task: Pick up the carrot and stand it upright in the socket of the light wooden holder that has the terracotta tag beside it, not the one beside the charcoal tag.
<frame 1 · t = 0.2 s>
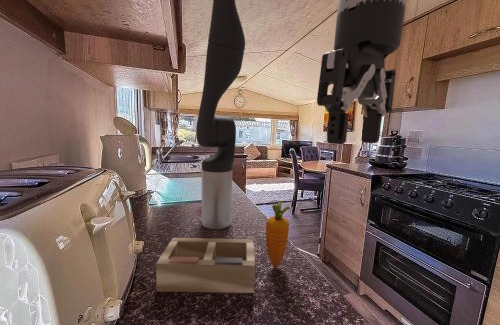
hand: (354, 143, 30), 28 cm above the countertop, tool pointing down, fingers open, 8 cm apart
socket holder: (209, 275, 46), on the countertop
carrot: (275, 268, 49), on the countertop
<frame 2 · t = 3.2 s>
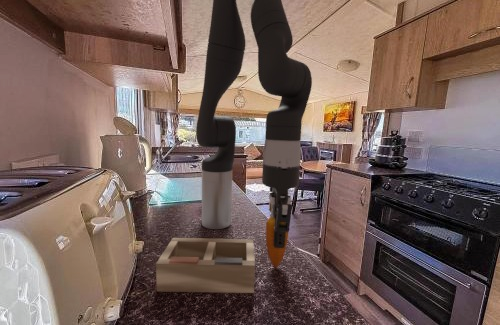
hand: (276, 239, 48), 6 cm above the countertop, tool pointing down, fingers closed on carrot, 5 cm apart
carrot: (275, 268, 49), on the countertop, touching gripper
everything else where it was.
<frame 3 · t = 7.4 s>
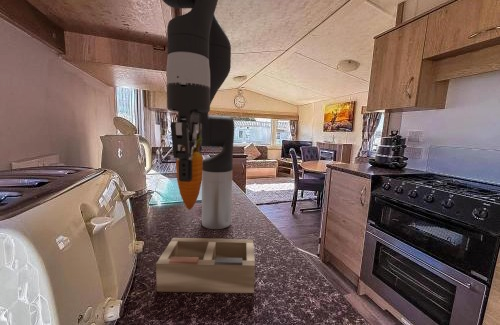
hand: (189, 177, 43), 20 cm above the countertop, tool pointing down, fingers closed on carrot, 5 cm apart
carrot: (189, 210, 44), point 14 cm above the countertop, touching gripper
everything else where it was.
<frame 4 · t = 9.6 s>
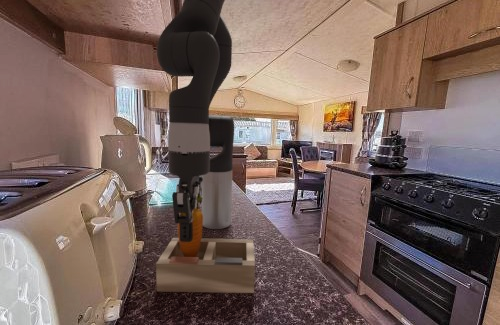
hand: (189, 233, 44), 9 cm above the countertop, tool pointing down, fingers closed on carrot, 5 cm apart
carrot: (190, 264, 45), point 2 cm above the countertop, touching gripper
everything else where it was.
when the fingers open (7 cm above the countertop, at t = 11.7 s): carrot stays where it is, resting in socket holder.
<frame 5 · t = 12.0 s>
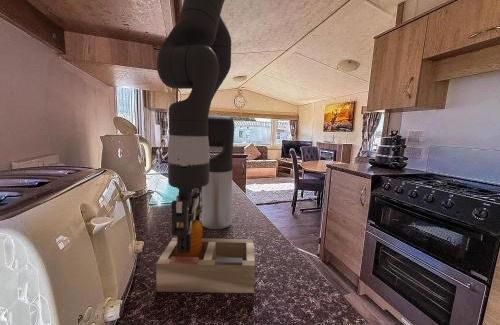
hand: (189, 241, 45), 7 cm above the countertop, tool pointing down, fingers open, 7 cm apart
carrot: (189, 275, 46), resting in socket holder
everything else where it was.
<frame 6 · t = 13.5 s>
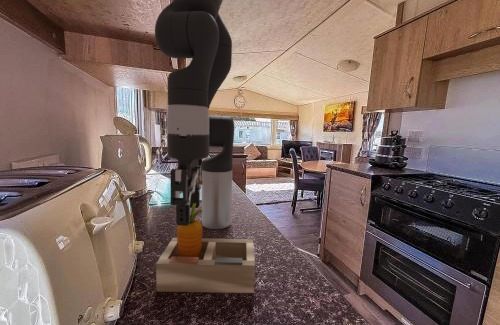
hand: (189, 215, 44), 13 cm above the countertop, tool pointing down, fingers open, 8 cm apart
nothing on the countertop moved.
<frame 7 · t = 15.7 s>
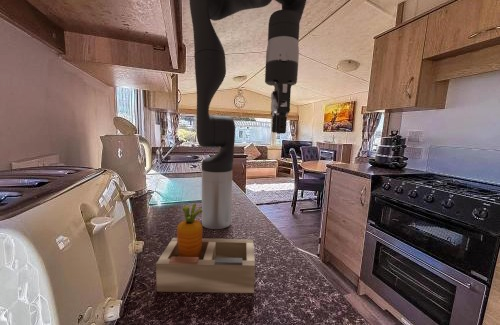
hand: (278, 133, 55), 29 cm above the countertop, tool pointing down, fingers open, 8 cm apart
nothing on the countertop moved.
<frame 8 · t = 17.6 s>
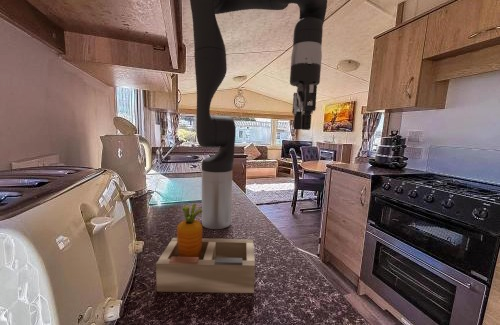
hand: (301, 129, 60), 30 cm above the countertop, tool pointing down, fingers open, 8 cm apart
nothing on the countertop moved.
at the end: carrot 0.1 cm from the target spot, resting in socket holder; carrot tilted 0°; the gripper is holding nothing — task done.
